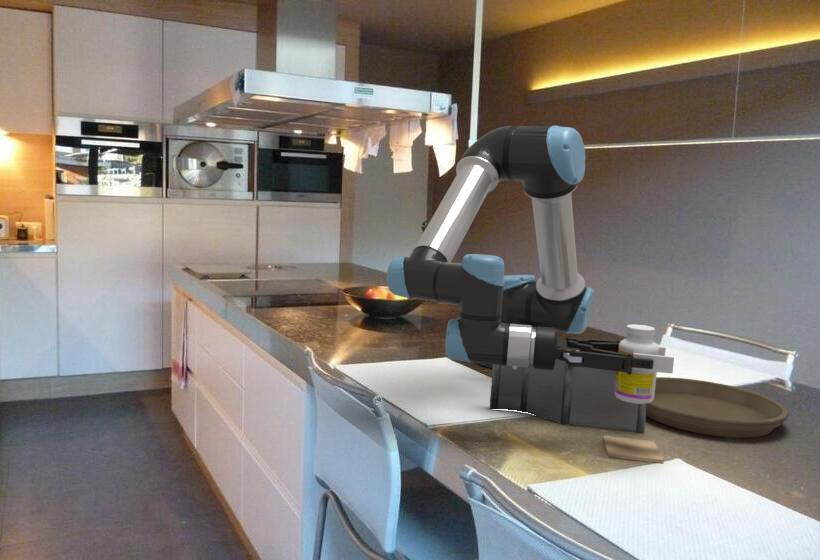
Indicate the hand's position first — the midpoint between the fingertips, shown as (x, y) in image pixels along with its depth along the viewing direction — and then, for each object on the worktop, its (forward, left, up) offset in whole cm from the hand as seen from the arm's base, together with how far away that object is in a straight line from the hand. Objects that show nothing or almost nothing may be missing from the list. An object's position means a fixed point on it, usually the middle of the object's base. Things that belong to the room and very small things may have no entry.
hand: (668, 359), depth 117 cm
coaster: (0, -4, -17) cm, 17 cm away
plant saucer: (-26, +14, -17) cm, 34 cm away
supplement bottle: (0, -5, -8) cm, 9 cm away
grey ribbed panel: (-13, -15, -17) cm, 26 cm away
